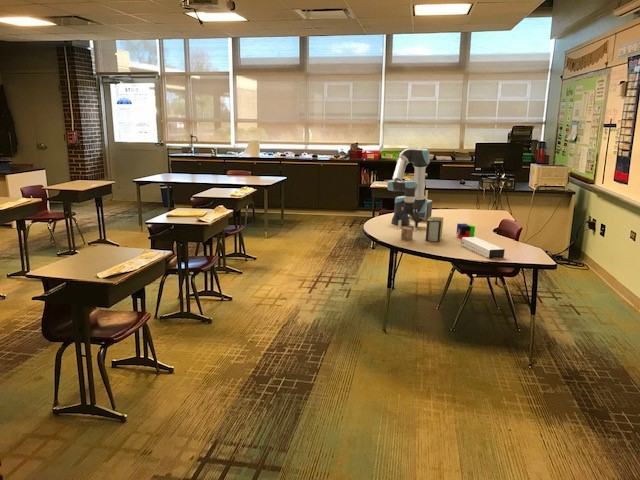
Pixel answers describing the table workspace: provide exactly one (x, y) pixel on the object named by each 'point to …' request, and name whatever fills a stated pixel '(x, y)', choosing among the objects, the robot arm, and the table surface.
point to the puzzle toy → (465, 230)
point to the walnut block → (406, 233)
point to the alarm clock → (427, 212)
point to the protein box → (434, 229)
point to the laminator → (482, 247)
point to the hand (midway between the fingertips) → (407, 230)
